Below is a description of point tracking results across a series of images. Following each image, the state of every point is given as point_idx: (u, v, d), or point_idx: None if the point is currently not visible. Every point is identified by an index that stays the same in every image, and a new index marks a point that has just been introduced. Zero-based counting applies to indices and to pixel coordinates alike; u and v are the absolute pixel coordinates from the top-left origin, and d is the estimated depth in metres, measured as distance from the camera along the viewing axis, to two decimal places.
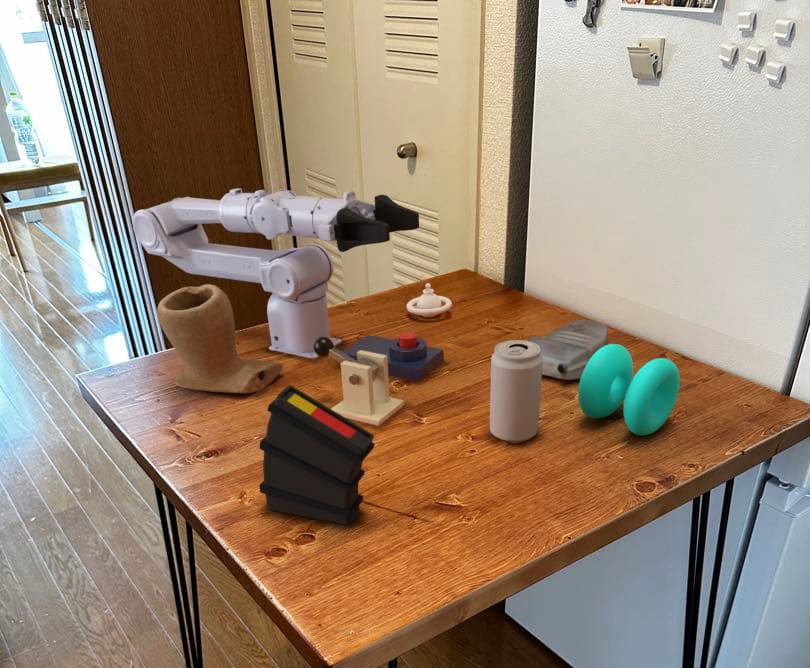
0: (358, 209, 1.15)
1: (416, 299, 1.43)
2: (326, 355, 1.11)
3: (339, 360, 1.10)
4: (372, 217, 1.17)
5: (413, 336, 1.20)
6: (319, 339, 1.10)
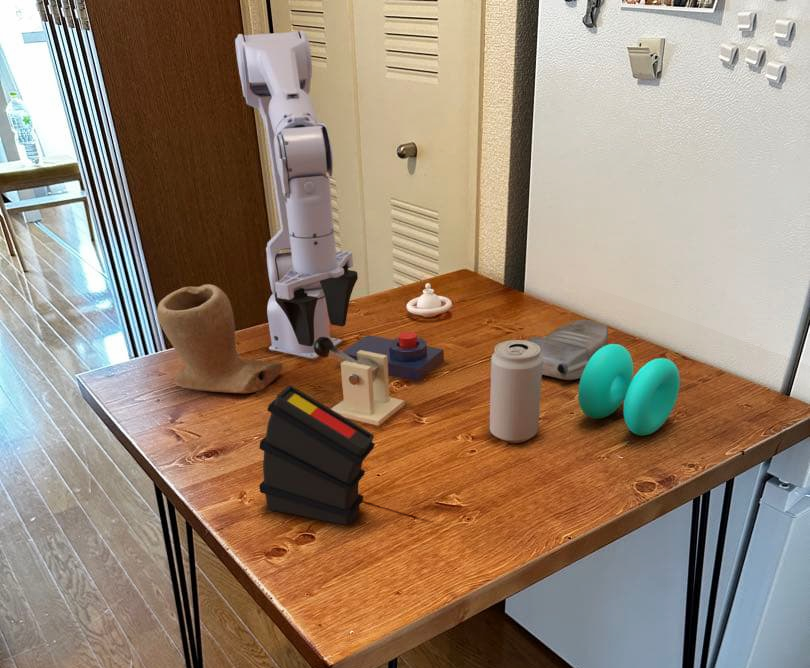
0: None
1: (416, 299, 1.43)
2: (326, 355, 1.11)
3: (339, 360, 1.10)
4: None
5: (413, 336, 1.20)
6: (319, 339, 1.10)
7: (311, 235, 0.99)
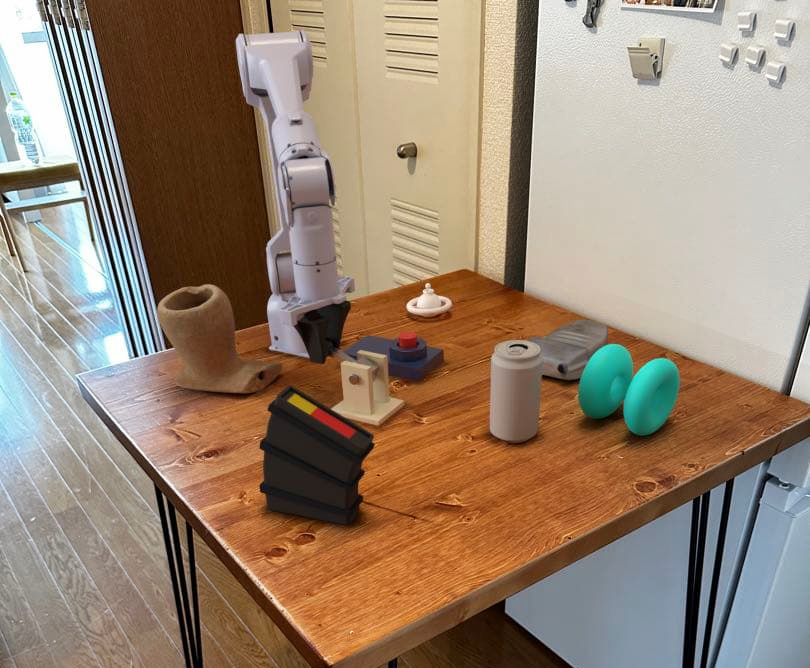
0: None
1: (416, 299, 1.43)
2: (326, 355, 1.11)
3: (339, 360, 1.10)
4: None
5: (413, 336, 1.20)
6: None
7: (314, 263, 1.01)
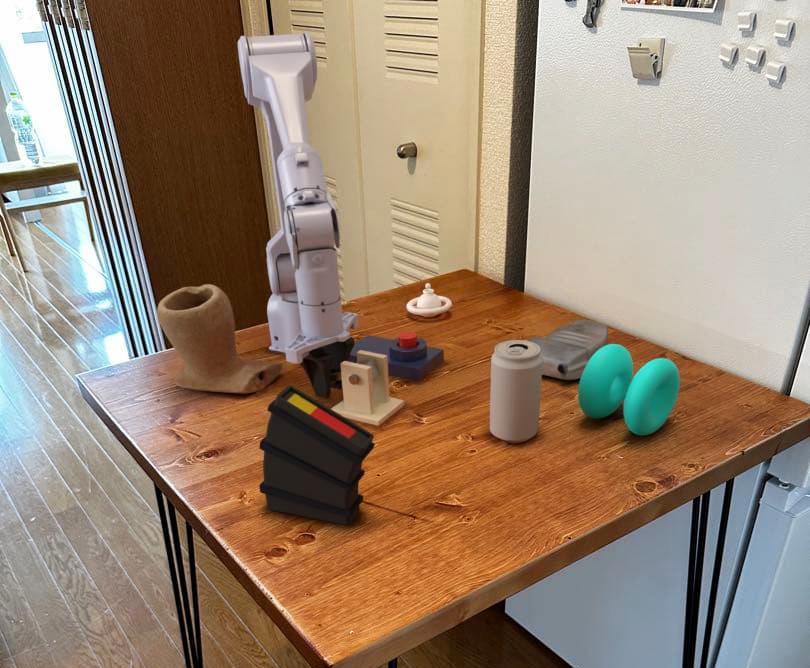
0: None
1: (416, 299, 1.43)
2: None
3: (341, 378, 1.12)
4: None
5: (413, 336, 1.20)
6: None
7: (319, 303, 1.04)
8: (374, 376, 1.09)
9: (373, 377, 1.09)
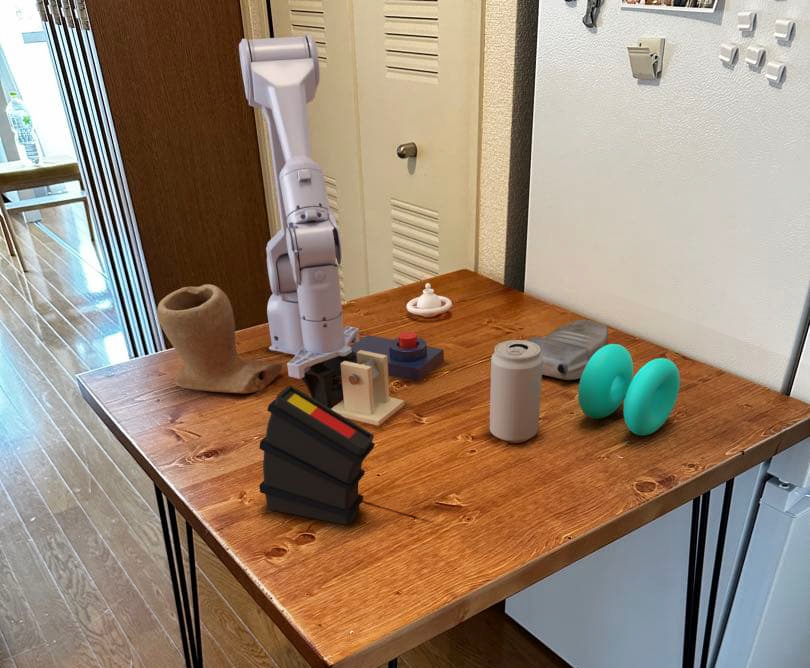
0: None
1: (416, 299, 1.43)
2: (332, 386, 1.13)
3: None
4: None
5: (413, 336, 1.20)
6: None
7: (321, 319, 1.06)
8: (374, 375, 1.09)
9: (373, 376, 1.09)
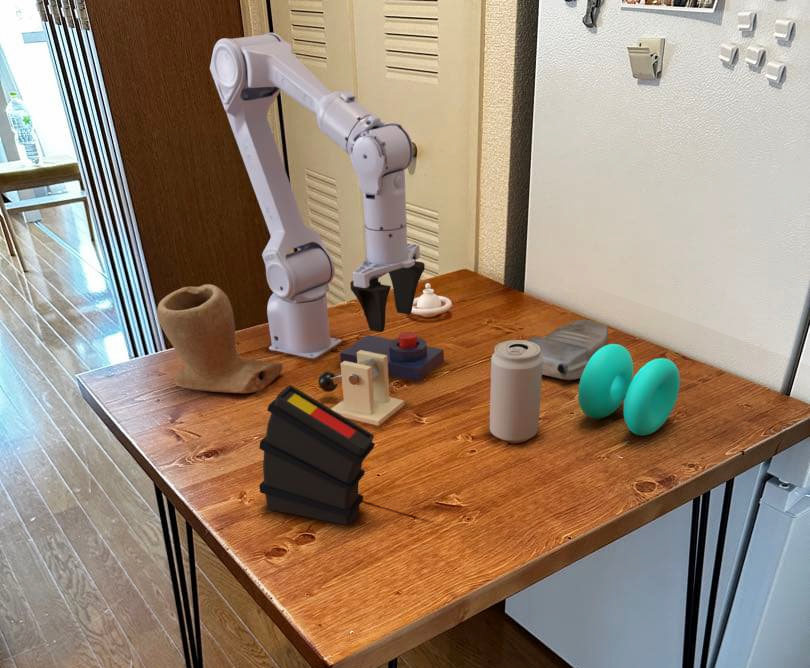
0: None
1: (416, 299, 1.43)
2: (332, 385, 1.13)
3: None
4: None
5: (413, 336, 1.20)
6: None
7: (399, 226, 1.08)
8: (374, 375, 1.09)
9: (373, 376, 1.09)
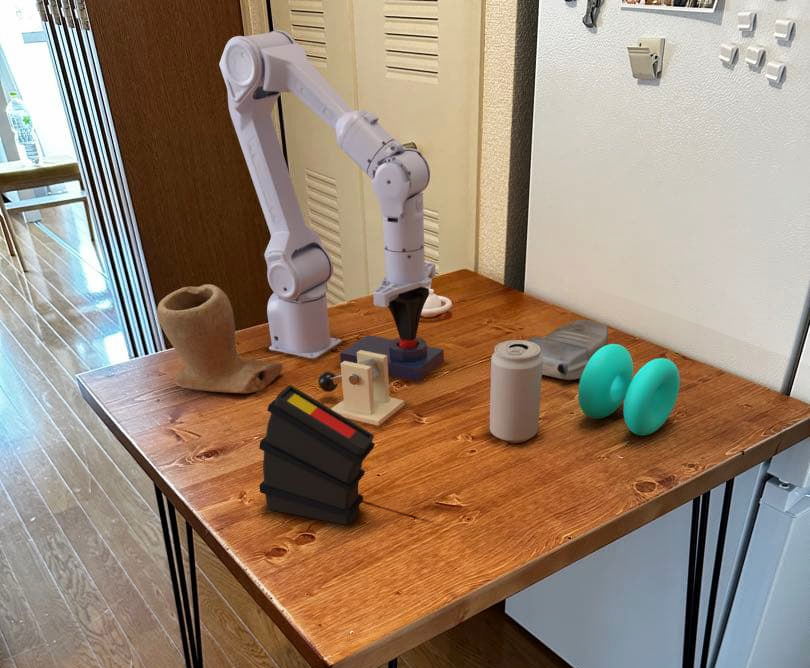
0: None
1: None
2: (332, 385, 1.13)
3: None
4: None
5: (413, 339, 1.21)
6: None
7: (420, 246, 1.12)
8: (374, 375, 1.09)
9: (373, 376, 1.09)
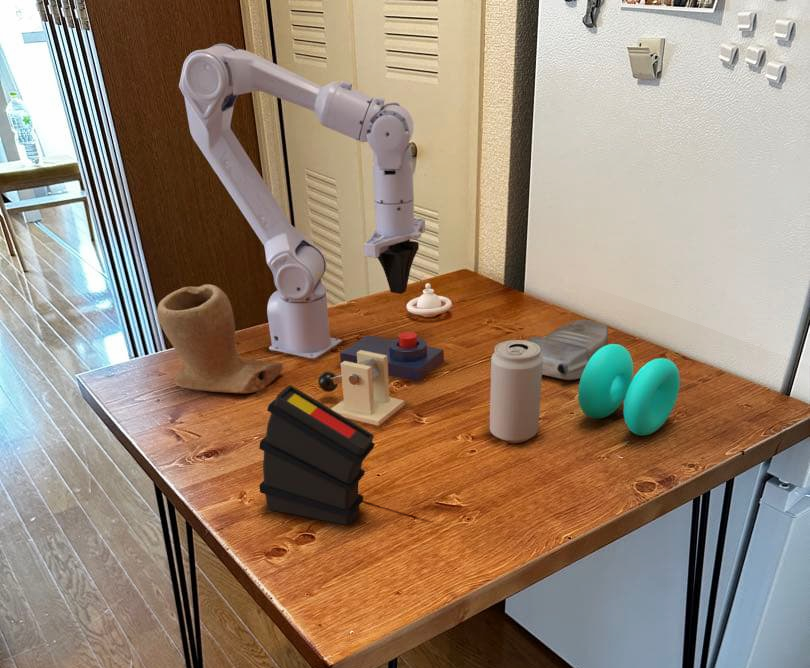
0: None
1: (416, 299, 1.43)
2: (332, 385, 1.13)
3: None
4: None
5: (413, 336, 1.20)
6: None
7: (412, 197, 1.16)
8: (374, 375, 1.09)
9: (373, 376, 1.09)
